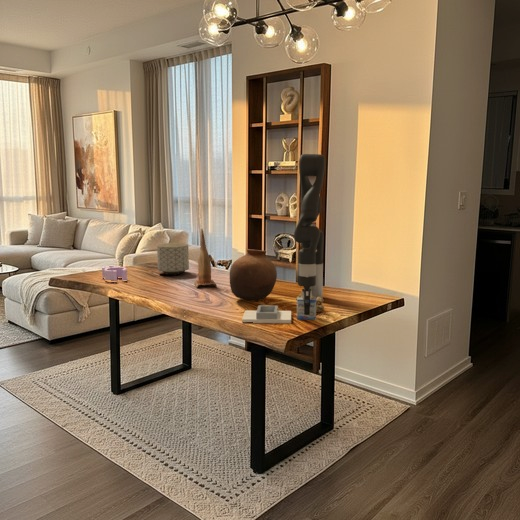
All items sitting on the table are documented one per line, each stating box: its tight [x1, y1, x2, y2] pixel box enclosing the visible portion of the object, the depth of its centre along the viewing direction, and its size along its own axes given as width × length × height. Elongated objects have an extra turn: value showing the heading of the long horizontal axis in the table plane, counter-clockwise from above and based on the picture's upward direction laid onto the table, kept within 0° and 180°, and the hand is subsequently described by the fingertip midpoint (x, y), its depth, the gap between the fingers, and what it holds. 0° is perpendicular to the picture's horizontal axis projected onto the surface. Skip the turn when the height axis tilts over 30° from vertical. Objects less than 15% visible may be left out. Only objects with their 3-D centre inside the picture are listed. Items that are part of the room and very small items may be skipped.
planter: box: [156, 242, 190, 275], centre depth 315 cm, size 19×19×18 cm
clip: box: [101, 265, 128, 282], centre depth 300 cm, size 20×12×7 cm, turn 39°
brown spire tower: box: [194, 228, 217, 289], centre depth 278 cm, size 11×12×32 cm
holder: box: [241, 304, 292, 324], centre depth 215 cm, size 14×20×4 cm
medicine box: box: [296, 298, 317, 321], centre depth 214 cm, size 8×4×9 cm, turn 81°
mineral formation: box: [295, 291, 326, 313], centre depth 228 cm, size 8×13×15 cm
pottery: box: [229, 248, 278, 302], centre depth 246 cm, size 23×23×25 cm
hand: (306, 312), depth 214 cm, fingers open, 8 cm apart
